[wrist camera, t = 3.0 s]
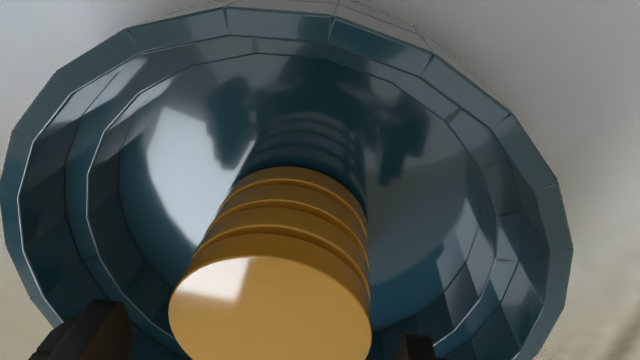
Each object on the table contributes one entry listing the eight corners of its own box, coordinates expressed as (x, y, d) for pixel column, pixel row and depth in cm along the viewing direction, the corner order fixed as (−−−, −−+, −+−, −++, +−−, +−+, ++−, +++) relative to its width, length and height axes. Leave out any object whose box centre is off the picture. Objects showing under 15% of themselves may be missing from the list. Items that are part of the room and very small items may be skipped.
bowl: (592, 13, 11) (713, 44, 7) (453, 367, 20) (475, 464, 16) (32, -30, 12) (-122, -22, 8) (134, 330, 21) (83, 415, 17)
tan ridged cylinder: (377, 168, 14) (387, 269, 10) (359, 286, 17) (359, 403, 13) (216, 153, 14) (151, 244, 10) (226, 272, 17) (180, 382, 13)
